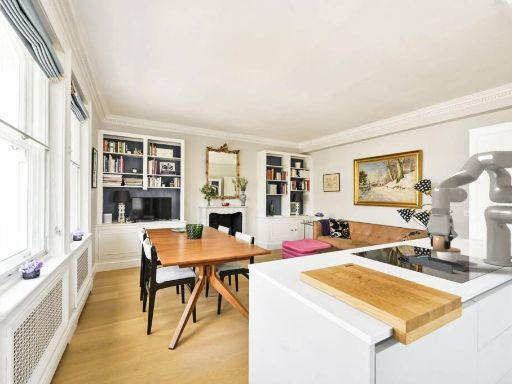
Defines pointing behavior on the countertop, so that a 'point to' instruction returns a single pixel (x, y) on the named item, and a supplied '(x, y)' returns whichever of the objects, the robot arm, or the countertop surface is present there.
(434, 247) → the jar
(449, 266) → the lane
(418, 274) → the countertop surface
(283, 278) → the countertop surface
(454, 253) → the lidded jar
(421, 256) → the pusher
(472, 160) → the robot arm
